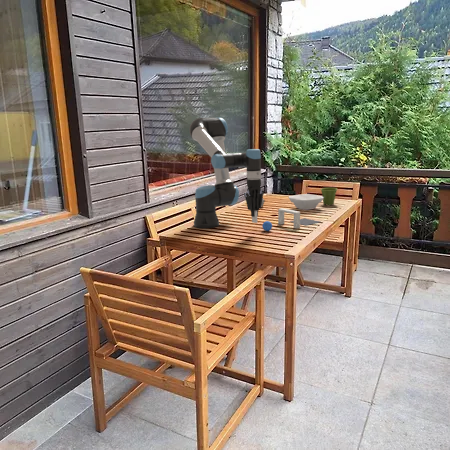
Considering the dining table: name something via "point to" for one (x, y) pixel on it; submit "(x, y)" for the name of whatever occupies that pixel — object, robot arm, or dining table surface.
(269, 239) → the dining table surface
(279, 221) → the bridge
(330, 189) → the plant pot
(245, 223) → the dining table surface
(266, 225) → the ball
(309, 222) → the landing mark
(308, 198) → the bowl
